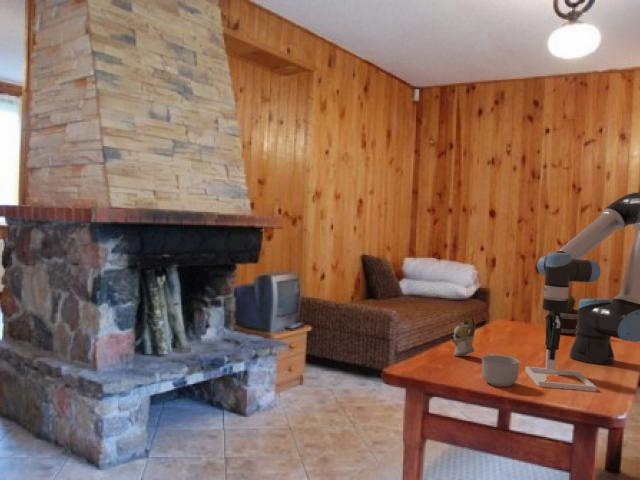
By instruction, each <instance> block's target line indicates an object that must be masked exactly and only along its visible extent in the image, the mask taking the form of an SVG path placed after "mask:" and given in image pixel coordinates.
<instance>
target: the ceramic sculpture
mask: <svg viewBox="0 0 640 480" xmlns="http://www.w3.org/2000/svg"><path fill="white" fill-rule="evenodd" d="M462 316H463V319H462V320H461V323H459V324H457V325H456V326H455V327H454V329H453V335H451V336H450V339H451V341H452V343H453V344H454V345H455V349H454V353H453V356H454V357H461V356H462V357H463V356H467V355H469V354H470V353H474V352H475V349H474V346H473V341H474V339H475V332H476V324H475V320H474V318H473V317H472V318H471V319H470V321H469V320H468V317H467V316H466V314H465V313H463V314H462Z"/></svg>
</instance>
